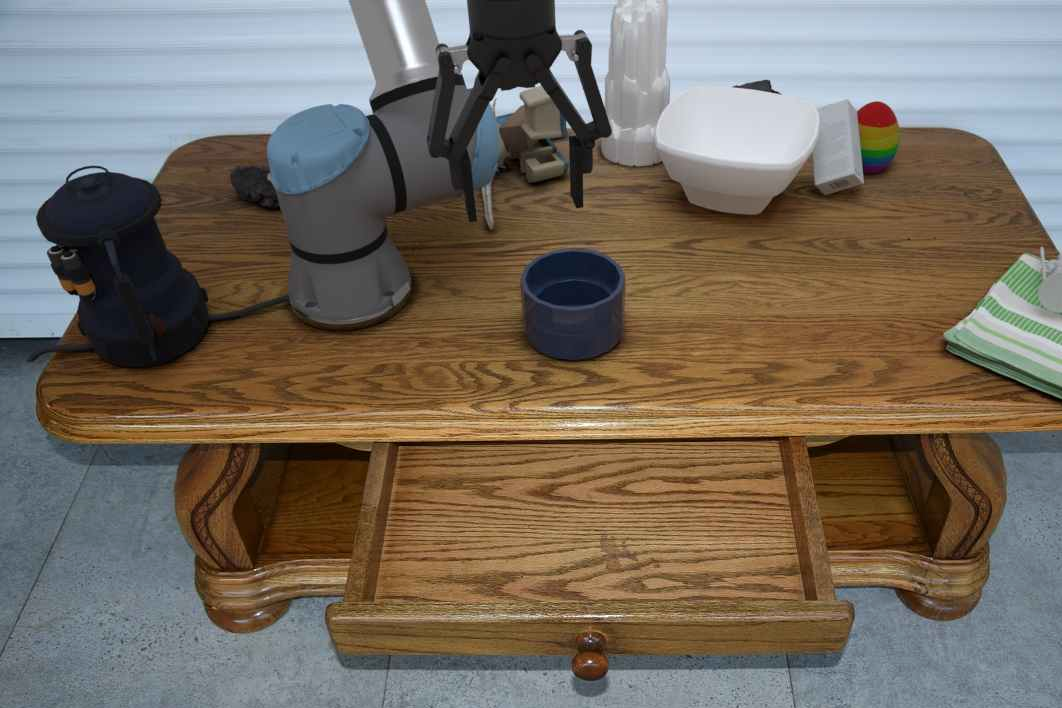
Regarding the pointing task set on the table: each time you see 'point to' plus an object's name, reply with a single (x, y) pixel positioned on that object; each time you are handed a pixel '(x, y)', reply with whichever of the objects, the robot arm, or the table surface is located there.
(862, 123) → the decorative egg
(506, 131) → the wooden block
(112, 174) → the dark blue bag
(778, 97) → the bowl
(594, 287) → the glazed bowl
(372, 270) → the robot arm
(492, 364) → the table surface
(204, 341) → the table surface
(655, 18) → the decorative vase
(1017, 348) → the dish towel
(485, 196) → the seashell
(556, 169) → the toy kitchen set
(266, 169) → the rock
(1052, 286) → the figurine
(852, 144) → the cosmetic box
